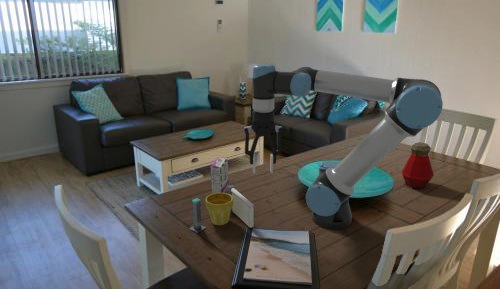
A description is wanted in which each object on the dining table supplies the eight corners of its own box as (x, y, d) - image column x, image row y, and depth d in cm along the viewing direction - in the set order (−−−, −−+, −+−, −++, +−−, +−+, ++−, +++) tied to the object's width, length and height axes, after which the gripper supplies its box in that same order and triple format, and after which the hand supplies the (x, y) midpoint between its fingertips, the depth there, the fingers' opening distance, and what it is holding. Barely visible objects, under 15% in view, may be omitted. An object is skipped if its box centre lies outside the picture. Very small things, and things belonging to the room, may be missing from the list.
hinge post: (239, 209, 157) (239, 191, 155) (232, 213, 154) (231, 194, 151) (231, 206, 160) (230, 188, 157) (224, 210, 157) (223, 191, 154)
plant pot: (211, 230, 142) (210, 206, 139) (203, 217, 151) (202, 195, 148) (237, 224, 146) (237, 201, 143) (227, 212, 155) (227, 190, 152)
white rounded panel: (227, 207, 157) (226, 185, 154) (233, 206, 158) (232, 184, 155) (248, 228, 142) (248, 204, 139) (254, 226, 143) (255, 202, 140)
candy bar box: (218, 191, 174) (217, 157, 169) (229, 192, 173) (228, 157, 168) (211, 202, 164) (209, 166, 159) (222, 203, 163) (221, 167, 158)
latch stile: (206, 228, 143) (204, 199, 140) (197, 233, 140) (196, 203, 136) (197, 224, 146) (196, 196, 142) (189, 229, 143) (187, 200, 139)
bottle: (422, 194, 171) (428, 151, 164) (393, 185, 180) (398, 144, 174) (437, 185, 180) (444, 144, 174) (410, 176, 190) (415, 137, 184)
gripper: (288, 107, 137) (286, 167, 145) (236, 107, 137) (237, 168, 144) (291, 112, 130) (289, 175, 138) (236, 112, 130) (237, 176, 137)
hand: (262, 172), depth 141 cm, fingers open, 6 cm apart
